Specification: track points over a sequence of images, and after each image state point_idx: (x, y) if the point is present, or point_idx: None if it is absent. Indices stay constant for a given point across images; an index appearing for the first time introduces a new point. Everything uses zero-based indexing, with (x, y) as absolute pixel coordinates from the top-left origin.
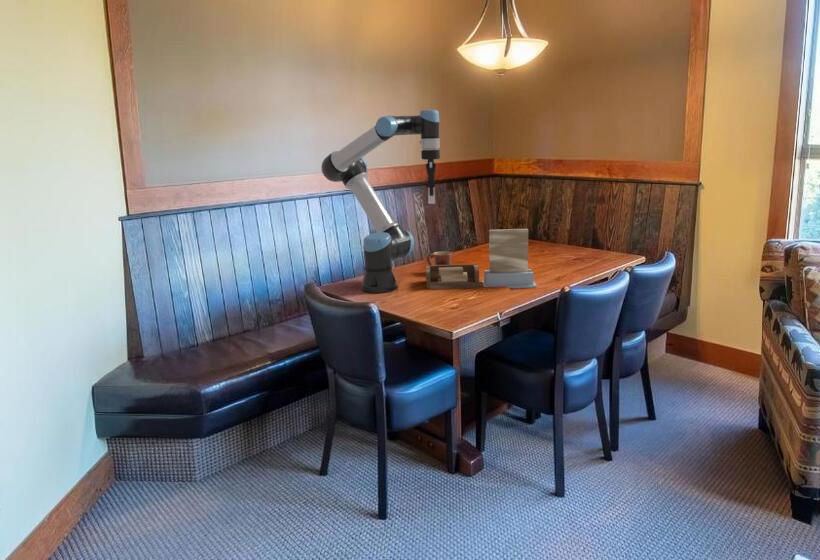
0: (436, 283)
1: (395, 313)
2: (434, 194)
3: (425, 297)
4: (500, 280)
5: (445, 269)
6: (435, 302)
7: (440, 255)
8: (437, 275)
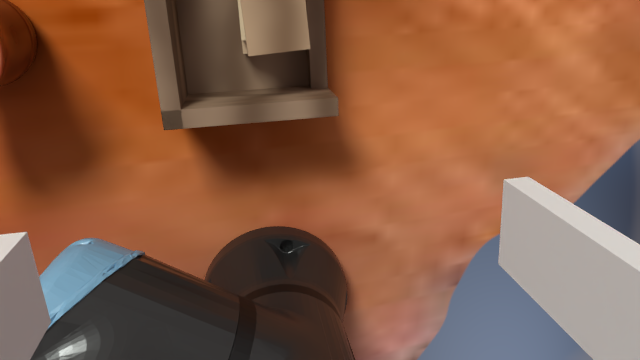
0: (314, 57)
1: (594, 178)
2: (614, 236)
3: (415, 94)
4: None
5: (291, 14)
6: (489, 47)
7: (2, 60)
8: (180, 61)
